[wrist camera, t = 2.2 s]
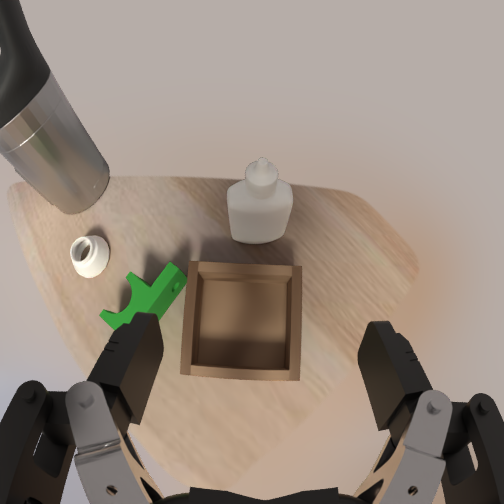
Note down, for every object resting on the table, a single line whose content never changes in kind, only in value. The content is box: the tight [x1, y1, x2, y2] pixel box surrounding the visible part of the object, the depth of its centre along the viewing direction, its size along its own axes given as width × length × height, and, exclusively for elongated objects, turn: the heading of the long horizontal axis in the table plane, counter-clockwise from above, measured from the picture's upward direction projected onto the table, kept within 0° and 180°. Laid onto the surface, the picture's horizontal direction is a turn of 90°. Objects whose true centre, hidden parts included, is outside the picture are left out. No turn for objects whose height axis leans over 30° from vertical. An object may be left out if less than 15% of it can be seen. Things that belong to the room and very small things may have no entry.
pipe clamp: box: [99, 262, 187, 330], centre depth 25 cm, size 11×4×5 cm, turn 146°
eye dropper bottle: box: [227, 157, 293, 244], centre depth 24 cm, size 4×6×12 cm
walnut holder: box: [180, 261, 302, 381], centre depth 25 cm, size 10×10×4 cm
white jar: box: [70, 235, 109, 278], centre depth 27 cm, size 5×3×5 cm
